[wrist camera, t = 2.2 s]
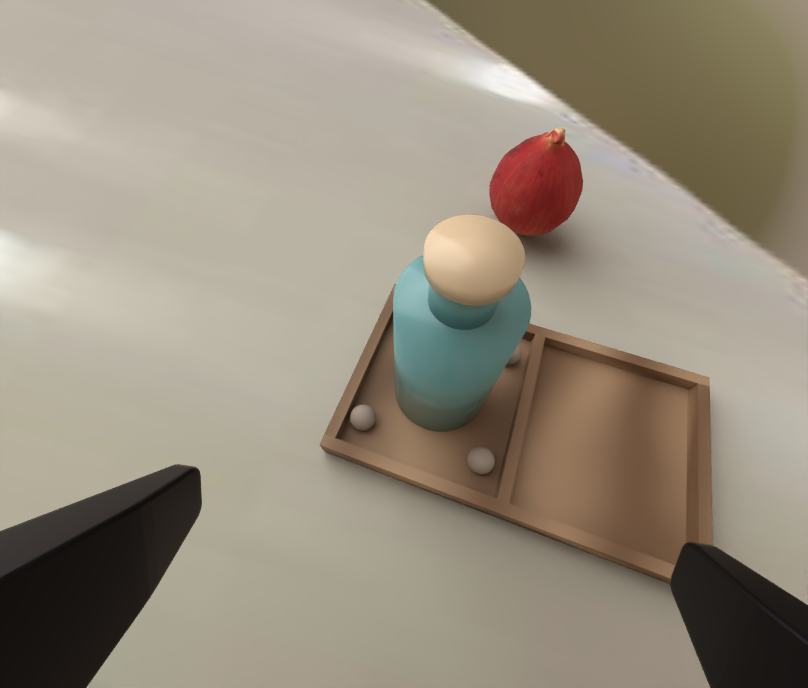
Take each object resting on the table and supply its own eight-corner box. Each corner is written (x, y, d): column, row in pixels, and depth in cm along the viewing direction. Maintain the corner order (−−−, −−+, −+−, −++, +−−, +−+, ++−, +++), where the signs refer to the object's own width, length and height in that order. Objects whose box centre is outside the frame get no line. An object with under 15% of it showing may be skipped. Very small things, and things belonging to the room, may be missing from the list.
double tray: (693, 387, 23) (713, 375, 22) (692, 592, 18) (718, 595, 17) (395, 296, 26) (394, 280, 25) (324, 451, 21) (318, 443, 20)
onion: (464, 227, 29) (485, 123, 22) (515, 192, 31) (549, 87, 24) (523, 273, 27) (566, 174, 20) (574, 233, 29) (630, 130, 22)
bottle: (502, 386, 22) (589, 250, 12) (443, 451, 21) (489, 355, 10) (435, 332, 24) (463, 173, 14) (375, 388, 22) (357, 251, 12)
